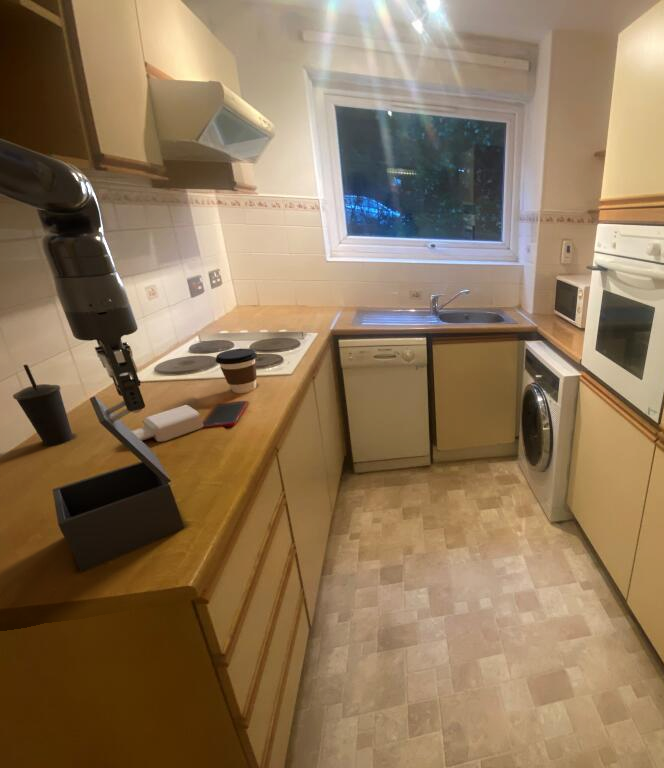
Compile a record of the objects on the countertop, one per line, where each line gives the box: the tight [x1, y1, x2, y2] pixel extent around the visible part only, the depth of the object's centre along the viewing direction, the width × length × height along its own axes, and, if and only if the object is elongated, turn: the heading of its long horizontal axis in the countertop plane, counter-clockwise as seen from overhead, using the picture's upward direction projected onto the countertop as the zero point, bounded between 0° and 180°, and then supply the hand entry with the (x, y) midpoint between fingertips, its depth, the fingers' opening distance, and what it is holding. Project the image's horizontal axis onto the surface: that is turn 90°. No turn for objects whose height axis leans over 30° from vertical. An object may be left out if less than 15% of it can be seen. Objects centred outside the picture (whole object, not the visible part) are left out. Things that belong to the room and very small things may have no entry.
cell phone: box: [202, 400, 248, 429], centre depth 118 cm, size 8×15×1 cm, turn 18°
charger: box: [131, 404, 204, 443], centre depth 107 cm, size 5×9×15 cm
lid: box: [89, 395, 172, 484], centre depth 74 cm, size 14×13×5 cm
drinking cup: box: [12, 364, 74, 447], centre depth 101 cm, size 8×8×20 cm
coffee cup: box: [215, 348, 258, 394], centre depth 134 cm, size 11×11×12 cm
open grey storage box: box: [52, 460, 185, 572], centre depth 75 cm, size 14×13×10 cm
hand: (132, 401), depth 72 cm, fingers open, 8 cm apart
